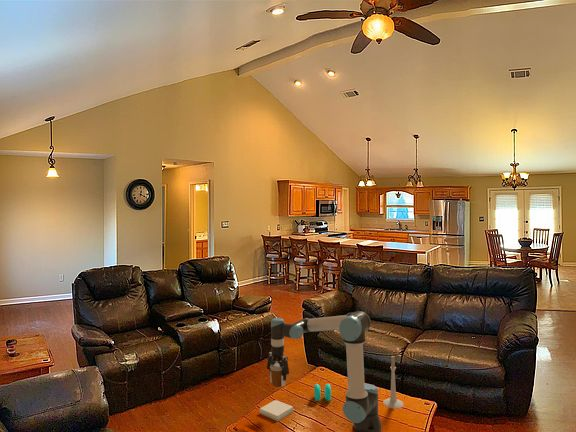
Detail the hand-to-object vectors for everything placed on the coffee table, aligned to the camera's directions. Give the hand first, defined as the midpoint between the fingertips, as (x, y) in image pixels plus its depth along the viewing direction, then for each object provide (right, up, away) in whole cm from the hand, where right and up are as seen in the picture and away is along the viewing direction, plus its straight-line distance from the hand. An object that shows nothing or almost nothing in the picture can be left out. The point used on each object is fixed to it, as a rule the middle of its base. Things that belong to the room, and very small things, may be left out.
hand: (277, 383), depth 240 cm
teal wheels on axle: (+28, -17, +16) cm, 36 cm away
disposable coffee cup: (0, -1, 0) cm, 1 cm away
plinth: (-1, -17, +1) cm, 17 cm away
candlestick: (+70, -17, +9) cm, 73 cm away
